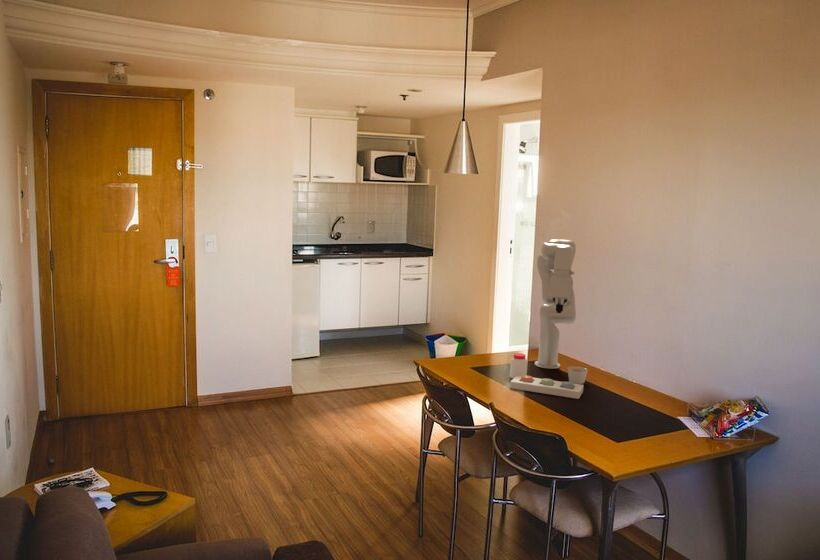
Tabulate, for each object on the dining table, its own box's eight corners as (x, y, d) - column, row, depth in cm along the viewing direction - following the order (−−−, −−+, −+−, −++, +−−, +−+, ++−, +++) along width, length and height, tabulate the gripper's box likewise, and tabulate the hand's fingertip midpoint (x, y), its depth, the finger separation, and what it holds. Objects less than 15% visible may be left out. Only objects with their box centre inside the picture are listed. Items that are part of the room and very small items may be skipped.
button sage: (542, 386, 304) (542, 377, 304) (553, 388, 302) (554, 379, 302) (539, 389, 300) (540, 380, 299) (551, 391, 298) (551, 382, 297)
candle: (574, 385, 310) (575, 372, 309) (562, 380, 318) (563, 367, 317) (590, 384, 313) (591, 370, 313) (578, 378, 322) (579, 365, 321)
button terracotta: (522, 383, 308) (522, 374, 307) (533, 385, 306) (533, 376, 305) (519, 386, 303) (520, 377, 302) (530, 387, 301) (531, 379, 300)
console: (516, 381, 312) (517, 375, 312) (583, 391, 301) (583, 385, 300) (510, 388, 301) (510, 381, 301) (578, 398, 290) (579, 392, 289)
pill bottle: (525, 375, 322) (527, 353, 321) (526, 380, 315) (528, 357, 313) (509, 374, 323) (510, 352, 322) (510, 379, 315) (511, 356, 314)
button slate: (562, 389, 301) (563, 380, 300) (573, 391, 299) (574, 382, 298) (560, 392, 296) (561, 383, 296) (572, 394, 294) (572, 385, 294)
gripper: (580, 273, 310) (576, 313, 313) (547, 270, 316) (544, 309, 318) (577, 275, 303) (574, 315, 306) (544, 272, 309) (541, 312, 311)
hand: (559, 312), depth 312 cm, fingers closed
